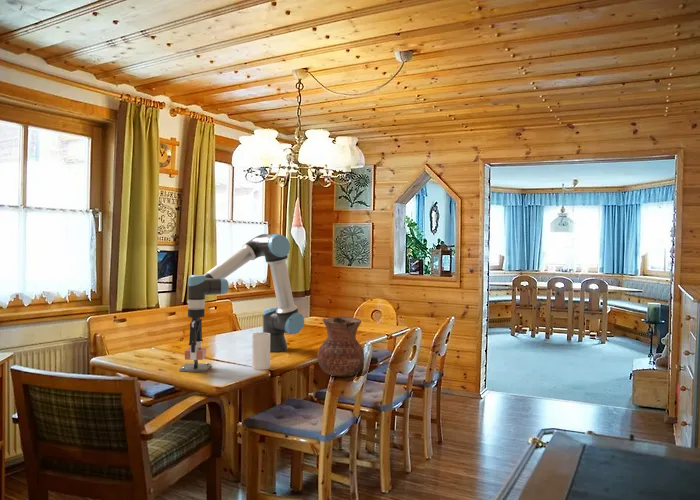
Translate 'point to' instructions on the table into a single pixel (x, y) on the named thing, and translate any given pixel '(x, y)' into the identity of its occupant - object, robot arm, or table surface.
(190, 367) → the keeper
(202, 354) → the link
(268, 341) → the cup
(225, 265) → the robot arm
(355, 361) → the brown clay vase
